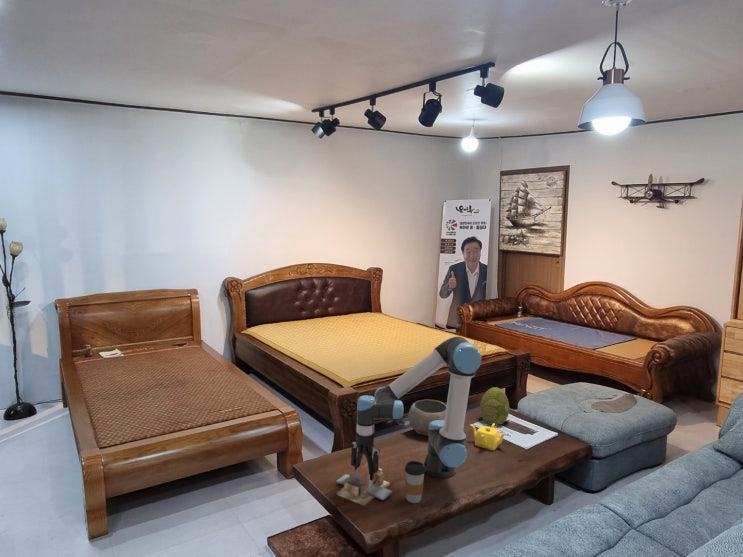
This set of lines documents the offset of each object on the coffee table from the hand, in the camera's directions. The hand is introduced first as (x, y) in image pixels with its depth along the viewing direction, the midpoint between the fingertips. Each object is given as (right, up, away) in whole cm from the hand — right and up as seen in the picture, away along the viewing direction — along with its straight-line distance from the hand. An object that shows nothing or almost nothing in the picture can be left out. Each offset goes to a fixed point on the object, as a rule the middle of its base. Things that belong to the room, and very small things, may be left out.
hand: (364, 484), depth 221 cm
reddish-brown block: (0, 0, 0) cm, 0 cm away
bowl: (+35, +4, +61) cm, 70 cm away
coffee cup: (+21, -4, -6) cm, 22 cm away
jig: (0, -3, 0) cm, 3 cm away
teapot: (+63, +2, +46) cm, 78 cm away
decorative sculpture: (+74, +6, +77) cm, 107 cm away
